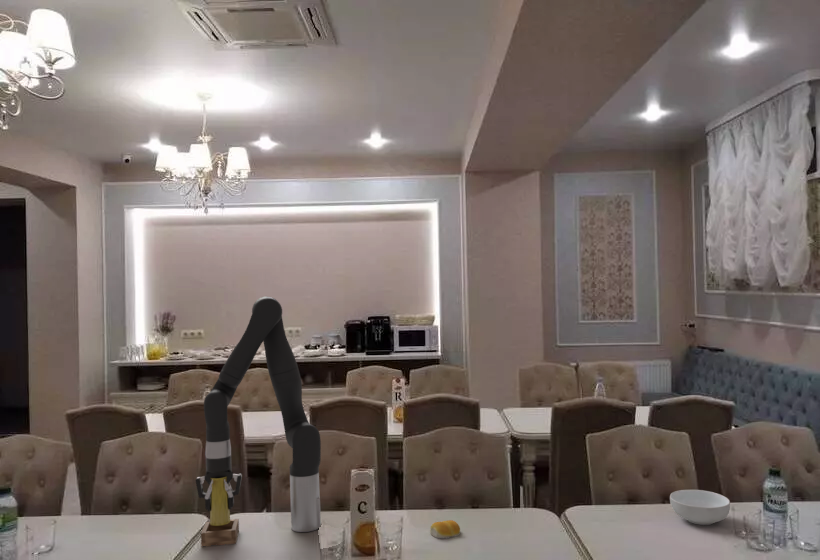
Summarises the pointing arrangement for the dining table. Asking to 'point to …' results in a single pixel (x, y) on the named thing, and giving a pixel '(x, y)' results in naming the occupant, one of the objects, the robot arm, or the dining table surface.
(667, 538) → the dining table surface
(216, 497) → the vase
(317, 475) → the robot arm
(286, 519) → the dining table surface
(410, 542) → the dining table surface
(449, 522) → the bread roll
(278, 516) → the dining table surface
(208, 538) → the socket block
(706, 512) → the cereal bowl
